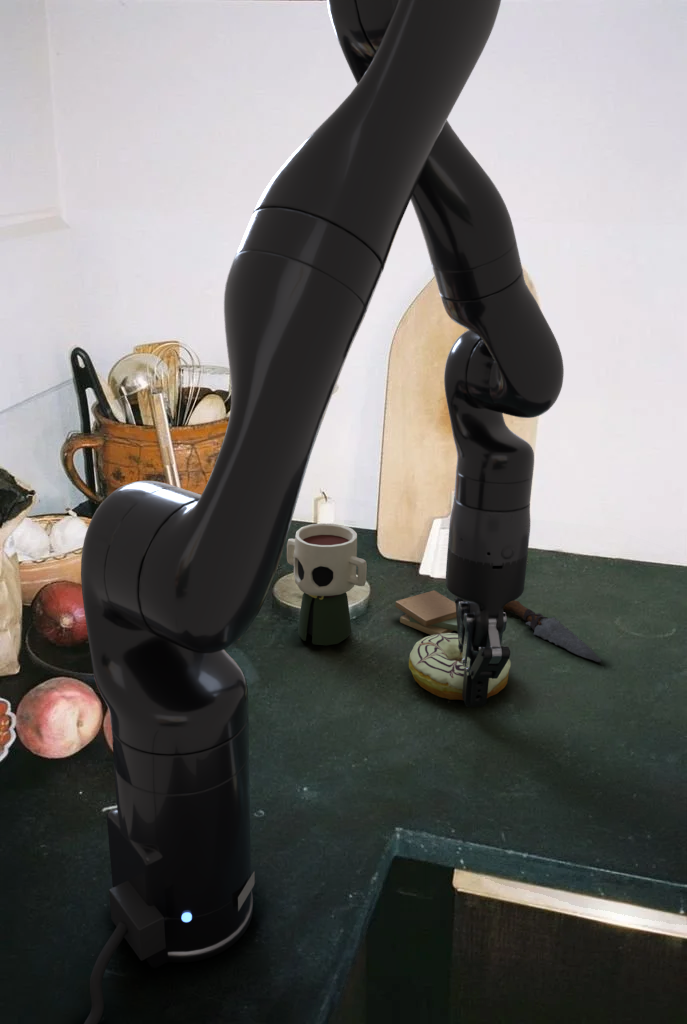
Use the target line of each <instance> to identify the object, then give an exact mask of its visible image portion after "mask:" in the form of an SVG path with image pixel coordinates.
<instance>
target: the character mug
mask: <svg viewBox="0 0 687 1024" xmlns="http://www.w3.org/2000/svg"><path fill="white" fill-rule="evenodd" d="M357 555H358V534H357V532H356V531H355V530H354V529H353V528H351V527H348V526H347V525H344V524H337V523H333V522H332V523H329V522H328V523H326V522H324V523H323V522H319V523H312V524H308V525H304V526H302V527H300V528H299V529H298V530H296V532H295V537H294V538H288V540H287V542H286V562H287V564H288V565H291V566H292V567H293V578H294V583H295V584H296V585H297V587H298V588H299V590H300V591H301V592H302V596H301V597H302V598H301V603H300V610H299V617H298V627H297V630H298V631H297V633H298V634H297V635H298V637H299V638H300V639H301V640H302V641H305V642H307V634H308V635H310V636H311V637H312V639H311V644H312V645H316V646H318V645H319V646H331V645H338V644H339V643H341V642H343V641H344V640H346V639H347V638H348V637H349V636H350V635H351V633H352V623H351V614H350V606H349V597H348V594H347V592H348V593H349V591H351V590H352V589H353V588H354V587H355V586H358V587H365V585H366V582H367V573H368V571H367V570H368V569H367V568H368V564H367V561H366V560H365V559H364V558H360V557H358V556H357Z"/></svg>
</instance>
